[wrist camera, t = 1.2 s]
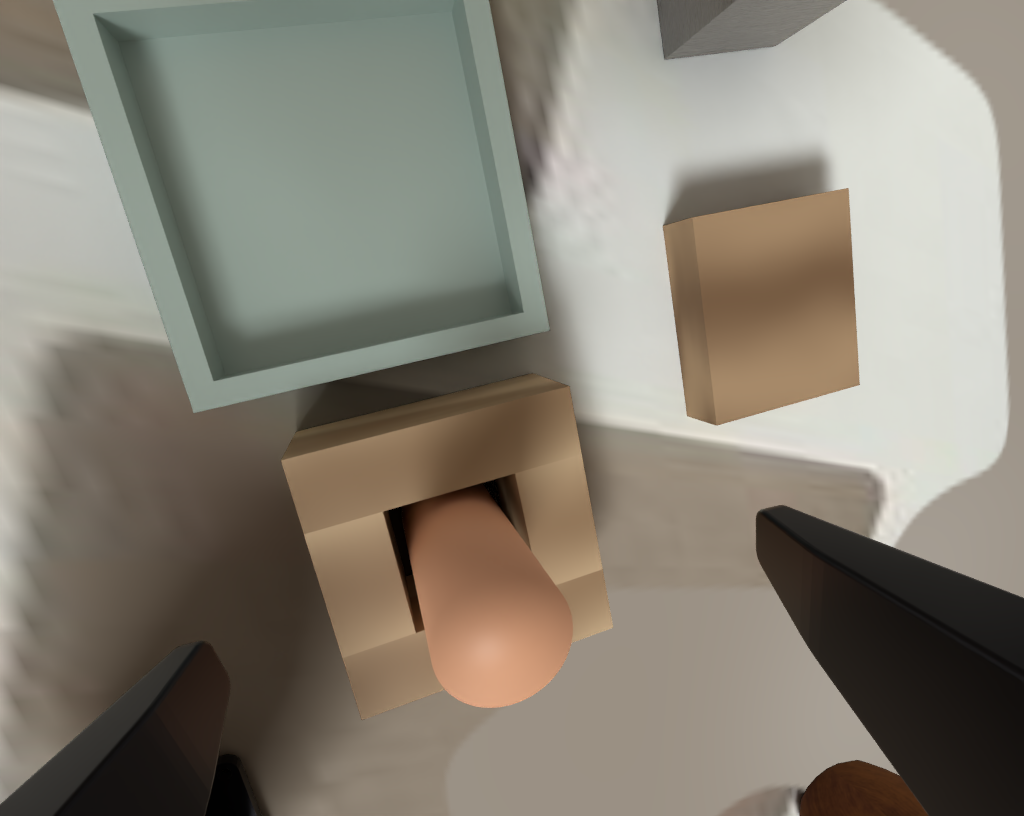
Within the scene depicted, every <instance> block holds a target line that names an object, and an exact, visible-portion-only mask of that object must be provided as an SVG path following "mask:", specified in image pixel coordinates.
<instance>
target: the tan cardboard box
mask: <svg viewBox="0 0 1024 816" xmlns="http://www.w3.org/2000/svg"><path fill="white" fill-rule="evenodd" d="M663 231H664V238H665V246H666V254H667V262H668V270H669V278H670V285H671V293H672V301H673V309H674V317H675V325H676V332H677V340H678V348H679V356H680V364H681V371H682V379H683V387H684V395H685V403H686V411H687V416H689V417H692V418H695V419H698V420H701V421H704V422H707V423H711V424H714V425H720V424H724V423H727V422H731V421H734V420H738V419H741V418H745V417H748V416H752V415H755V414H759V413H762V412H766V411H769V410H773V409H776V408H780V407H783V406H787V405H790V404H794V403H798V402H801V401H805V400H808V399H812V398H815V397H819V396H822V395H826V394H829V393H833V392H836V391H840V390H843V389H847V388H850V387H854V386H857V385H860V383H859V366H858V348H857V331H856V313H855V295H854V278H853V260H852V242H851V225H850V207H849V190H848V188H846V189H841V190H836V191H830V192H825V193H820V194H814V195H809V196H804V197H798V198H793V199H788V200H782V201H777V202H772V203H766V204H761V205H756V206H750V207H745V208H740V209H734V210H729V211H724V212H718V213H713V214H708V215H702V216H697V217H692V218H688V219H685V220H682V221H678V222H675V223H671V224H668V225H664V226H663Z"/></svg>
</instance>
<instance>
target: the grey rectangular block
mask: <svg viewBox="0 0 1024 816" xmlns="http://www.w3.org/2000/svg"><path fill="white" fill-rule="evenodd" d="M845 1H846V0H657V3H658V11H659V19H660V27H661V35H662V43H663V51H664V59H665V60H666V59H674V58H682V57H691V56H699V55H707V54H715V53H723V52H732V51H740V50H748V49H756V48H765V47H773V46H776V45H778V44H779V43H781V42H782V41H784V40H785V39H787V38H789V37H790V36H792V35H793V34H795V33H796V32H798V31H800V30H801V29H803V28H804V27H806V26H807V25H809V24H810V23H812V22H814V21H815V20H817V19H818V18H820V17H821V16H823V15H824V14H826V13H828V12H829V11H831V10H832V9H834V8H835V7H837V6H839V5H840V4H842V3H843V2H845Z"/></svg>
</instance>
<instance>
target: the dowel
mask: <svg viewBox="0 0 1024 816" xmlns="http://www.w3.org/2000/svg"><path fill="white" fill-rule="evenodd" d="M401 514H402V523H403V527H404V532H405V537H406V542H407V547H408V552H409V556H410V561H411V566H412V571H413V576H414V581H415V585H416V590H417V595H418V600H419V605H420V610H421V614H422V619H423V624H424V629H425V634H426V639H427V643H428V648H429V653H430V658H431V663H432V667H433V670H434V673H435V675H436V677H437V679H438V681H439V682H440V684H441V685H442V686H443V688H444V689H445V690H446V691H447V692H448V693H449V694H450V695H452V696H453V697H455V698H456V699H458V700H460V701H462V702H464V703H466V704H469V705H473V706H477V707H485V708H495V707H503V706H508V705H511V704H514V703H518V702H520V701H522V700H525V699H527V698H529V697H530V696H532V695H534V694H535V693H537V692H538V691H539V690H541V689H542V688H543V687H544V686H546V685H547V684H548V683H549V682H550V681H551V680H552V679H553V677H554V676H555V675H556V674H557V673H558V671H559V670H560V668H561V667H562V665H563V663H564V661H565V660H566V657H567V655H568V652H569V650H570V646H571V643H572V636H573V621H572V615H571V611H570V608H569V606H568V603H567V601H566V599H565V598H564V596H563V595H562V593H561V592H560V590H559V589H558V588H557V586H556V585H555V583H554V582H553V581H552V579H551V578H550V577H549V575H548V574H547V572H546V571H545V570H544V568H543V567H542V565H541V564H540V563H539V561H538V560H537V559H536V557H535V556H534V554H533V553H532V552H531V550H530V549H529V547H528V546H527V545H526V543H525V542H524V540H523V539H522V538H521V536H520V535H519V534H518V532H517V531H516V529H515V528H514V527H513V525H512V524H511V522H510V521H509V520H508V518H507V517H506V516H505V514H504V513H503V511H502V510H501V509H500V507H499V506H498V504H497V503H496V502H495V500H494V499H493V497H492V496H491V495H490V493H489V492H488V491H487V489H486V488H485V486H484V485H483V484H482V483H480V484H477V485H473V486H470V487H466V488H463V489H459V490H456V491H452V492H449V493H446V494H442V495H439V496H435V497H432V498H428V499H425V500H421V501H418V502H414V503H411V504H407V505H404V506H402V512H401Z"/></svg>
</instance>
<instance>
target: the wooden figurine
mask: <svg viewBox="0 0 1024 816" xmlns="http://www.w3.org/2000/svg"><path fill="white" fill-rule="evenodd" d="M800 816H929V815H928V814H927V813H926V811H925V810H924V808H923V807H922V806H921V804H920V803H919V802H918V800H917V799H916V797H915V796H914V795H913V793H912V792H911V790H910V789H909V788H908V786H907V785H906V783H905V782H904V781H903V779H902V778H901V776H899V775H897V774H895V773H892V772H890V771H888V770H886V769H883V768H880V767H878V766H875V765H872V764H869V763H866V762H863V761H859V760H855V761H849V762H844V763H838V764H836V765H834V766H832V767H829V768H827V769H826V770H825V771H823V772H822V773H821V774H820V775H818V776H817V777H816V778H815V779H814V780H813V782H812V783H811V784H810V785H809V786H808V787H807V789H806V791H805V793H804V795H803V797H802V798H801V805H800Z"/></svg>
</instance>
